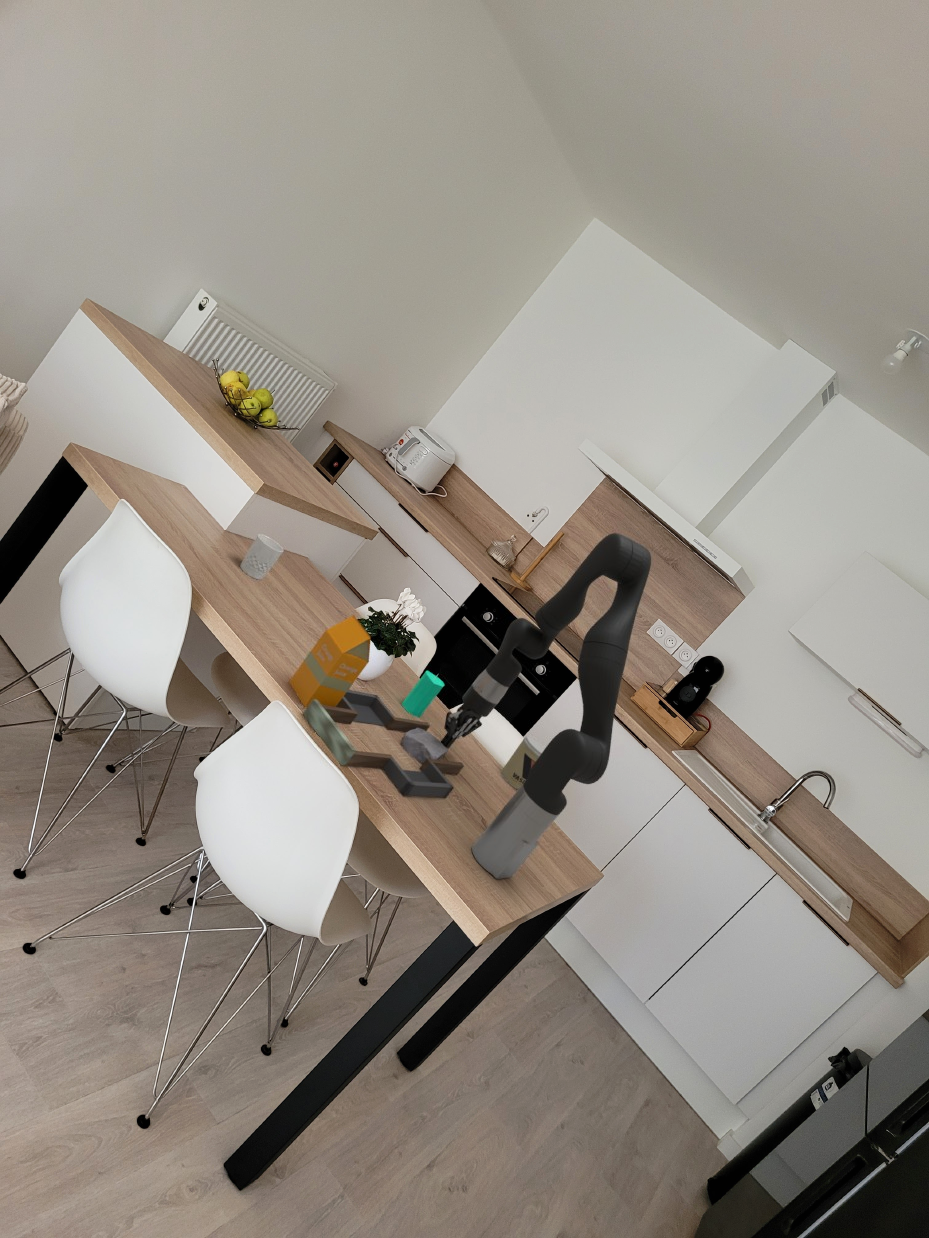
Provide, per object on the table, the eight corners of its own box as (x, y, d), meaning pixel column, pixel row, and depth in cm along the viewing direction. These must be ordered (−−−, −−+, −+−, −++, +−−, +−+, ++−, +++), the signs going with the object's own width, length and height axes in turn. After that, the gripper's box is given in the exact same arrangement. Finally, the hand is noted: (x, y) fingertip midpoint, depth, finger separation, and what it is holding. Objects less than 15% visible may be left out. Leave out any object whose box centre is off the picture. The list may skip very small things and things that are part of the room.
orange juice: (304, 706, 173) (357, 632, 168) (288, 681, 178) (339, 609, 174) (331, 713, 178) (384, 642, 174) (315, 688, 184) (366, 619, 180)
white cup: (232, 563, 219) (252, 533, 217) (247, 563, 226) (266, 534, 224) (254, 581, 217) (275, 551, 215) (268, 580, 225) (288, 551, 223)
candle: (398, 702, 210) (425, 666, 207) (408, 701, 215) (435, 666, 213) (414, 718, 208) (442, 681, 205) (424, 716, 213) (451, 681, 211)
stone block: (392, 750, 187) (431, 772, 186) (401, 732, 187) (440, 753, 185) (407, 741, 199) (443, 760, 197) (416, 723, 198) (452, 743, 197)
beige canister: (503, 783, 209) (532, 748, 206) (494, 763, 217) (522, 729, 215) (531, 798, 213) (559, 763, 210) (521, 777, 221) (548, 744, 219)
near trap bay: (446, 797, 179) (454, 787, 179) (403, 795, 167) (411, 785, 166) (425, 772, 184) (433, 762, 183) (381, 768, 171) (390, 758, 170)
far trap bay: (387, 726, 192) (395, 717, 191) (344, 720, 180) (351, 709, 179) (369, 704, 196) (376, 695, 196) (325, 696, 184) (333, 686, 183)
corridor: (457, 775, 194) (467, 762, 193) (340, 765, 161) (352, 750, 160) (420, 731, 202) (429, 719, 202) (302, 713, 169) (313, 699, 168)
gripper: (480, 699, 187) (435, 755, 191) (510, 705, 198) (467, 759, 201) (461, 678, 191) (418, 734, 195) (491, 686, 202) (449, 738, 206)
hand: (443, 746), depth 198 cm, fingers closed
